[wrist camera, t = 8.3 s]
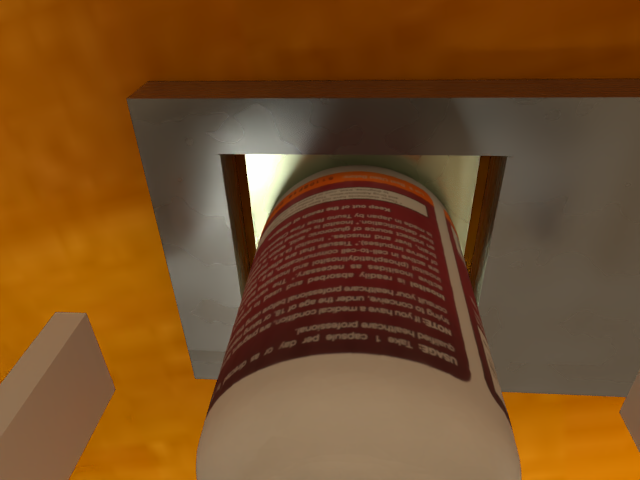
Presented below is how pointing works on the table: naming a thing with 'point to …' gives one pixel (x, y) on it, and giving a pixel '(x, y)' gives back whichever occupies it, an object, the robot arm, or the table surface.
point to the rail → (443, 181)
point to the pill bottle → (358, 345)
